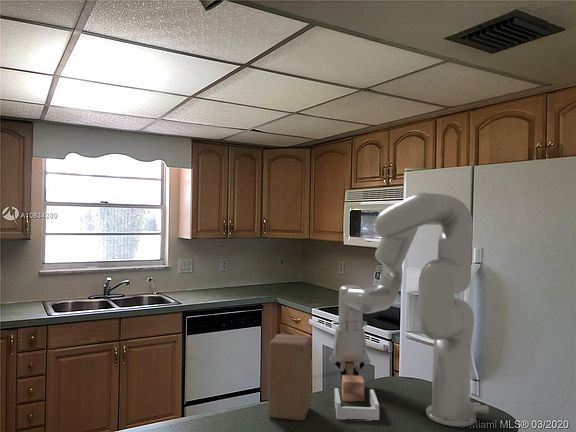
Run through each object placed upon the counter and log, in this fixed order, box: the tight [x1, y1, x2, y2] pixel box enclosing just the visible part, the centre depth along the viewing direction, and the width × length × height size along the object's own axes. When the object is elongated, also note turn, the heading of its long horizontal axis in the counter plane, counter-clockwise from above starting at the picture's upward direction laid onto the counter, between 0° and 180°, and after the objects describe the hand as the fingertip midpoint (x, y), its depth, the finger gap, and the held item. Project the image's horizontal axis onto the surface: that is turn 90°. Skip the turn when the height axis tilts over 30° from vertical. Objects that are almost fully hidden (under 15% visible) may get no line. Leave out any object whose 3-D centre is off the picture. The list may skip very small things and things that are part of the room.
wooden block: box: [267, 333, 312, 421], centre depth 127 cm, size 10×10×20 cm
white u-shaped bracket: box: [333, 387, 380, 421], centre depth 129 cm, size 11×12×4 cm
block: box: [341, 361, 365, 402], centre depth 143 cm, size 6×15×7 cm, turn 178°
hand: (349, 382), depth 150 cm, fingers closed on block, 2 cm apart
